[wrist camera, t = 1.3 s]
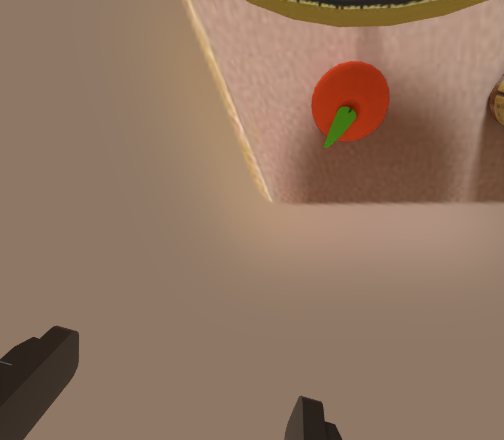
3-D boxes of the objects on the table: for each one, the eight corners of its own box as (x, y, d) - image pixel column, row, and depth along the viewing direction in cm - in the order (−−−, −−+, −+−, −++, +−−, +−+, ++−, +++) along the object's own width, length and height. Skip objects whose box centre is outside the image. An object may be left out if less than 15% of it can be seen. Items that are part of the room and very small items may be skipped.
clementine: (353, 150, 34) (355, 174, 28) (297, 121, 34) (288, 140, 28) (400, 78, 29) (415, 89, 23) (336, 45, 29) (335, 48, 23)
